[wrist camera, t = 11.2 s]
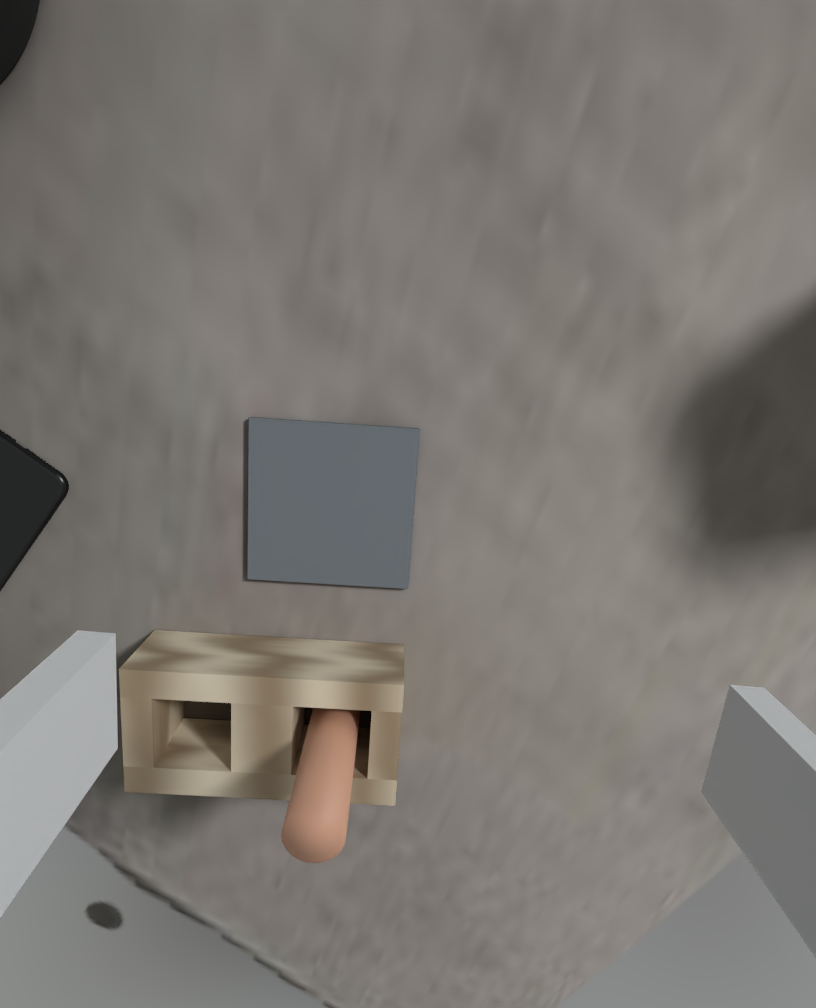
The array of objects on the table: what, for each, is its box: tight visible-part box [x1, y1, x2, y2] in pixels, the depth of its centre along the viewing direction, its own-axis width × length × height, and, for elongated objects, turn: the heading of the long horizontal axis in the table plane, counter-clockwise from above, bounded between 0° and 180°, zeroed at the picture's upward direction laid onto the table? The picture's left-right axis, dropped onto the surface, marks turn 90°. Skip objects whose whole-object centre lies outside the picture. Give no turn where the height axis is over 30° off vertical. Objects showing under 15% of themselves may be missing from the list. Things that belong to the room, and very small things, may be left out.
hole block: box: [119, 630, 404, 806], centre depth 37 cm, size 16×8×5 cm, turn 86°
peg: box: [282, 708, 360, 863], centre depth 34 cm, size 3×3×12 cm
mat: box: [248, 417, 420, 589], centre depth 36 cm, size 10×10×1 cm
